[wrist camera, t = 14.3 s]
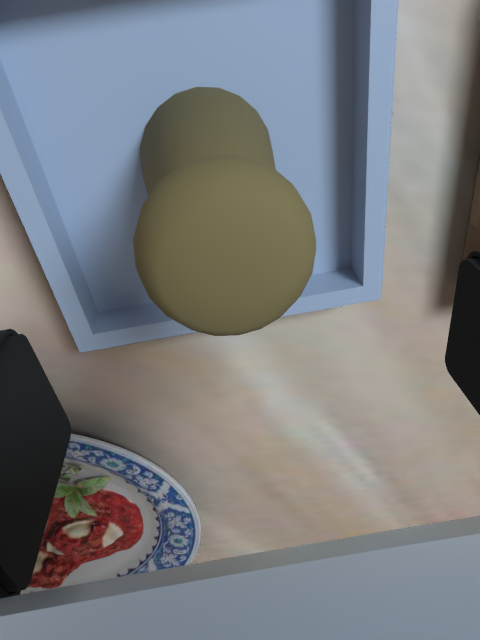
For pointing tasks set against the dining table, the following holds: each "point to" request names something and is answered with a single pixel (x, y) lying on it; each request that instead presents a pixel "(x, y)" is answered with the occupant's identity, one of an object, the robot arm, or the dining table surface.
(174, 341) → the dining table surface
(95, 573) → the ceramic plate
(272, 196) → the olive pawn
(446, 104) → the dining table surface
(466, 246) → the walnut collar
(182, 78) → the slate tray
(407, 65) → the dining table surface
